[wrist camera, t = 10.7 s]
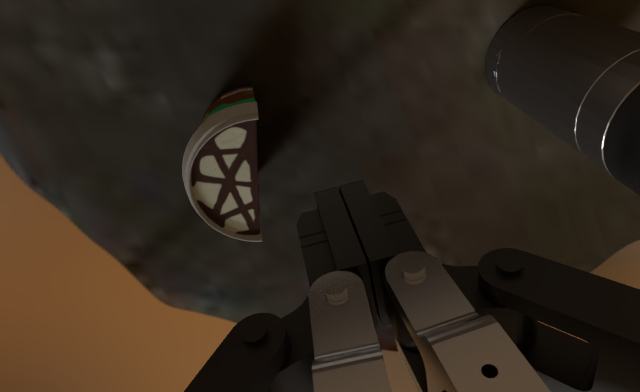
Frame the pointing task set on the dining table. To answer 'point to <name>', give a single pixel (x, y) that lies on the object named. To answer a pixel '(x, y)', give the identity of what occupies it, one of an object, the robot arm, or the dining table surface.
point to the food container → (226, 166)
